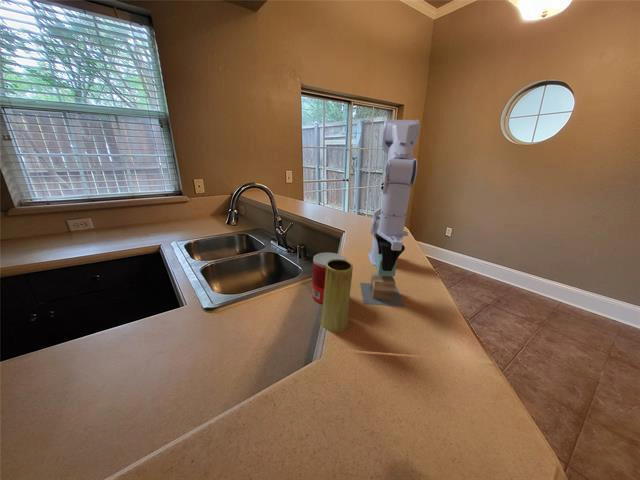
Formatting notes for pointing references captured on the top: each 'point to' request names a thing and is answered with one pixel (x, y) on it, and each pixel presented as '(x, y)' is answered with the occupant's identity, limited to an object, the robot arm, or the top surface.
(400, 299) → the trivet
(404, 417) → the top surface
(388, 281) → the tower mid
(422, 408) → the top surface
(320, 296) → the canned food
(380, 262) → the cube
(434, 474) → the top surface
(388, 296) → the tower base
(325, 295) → the vase
